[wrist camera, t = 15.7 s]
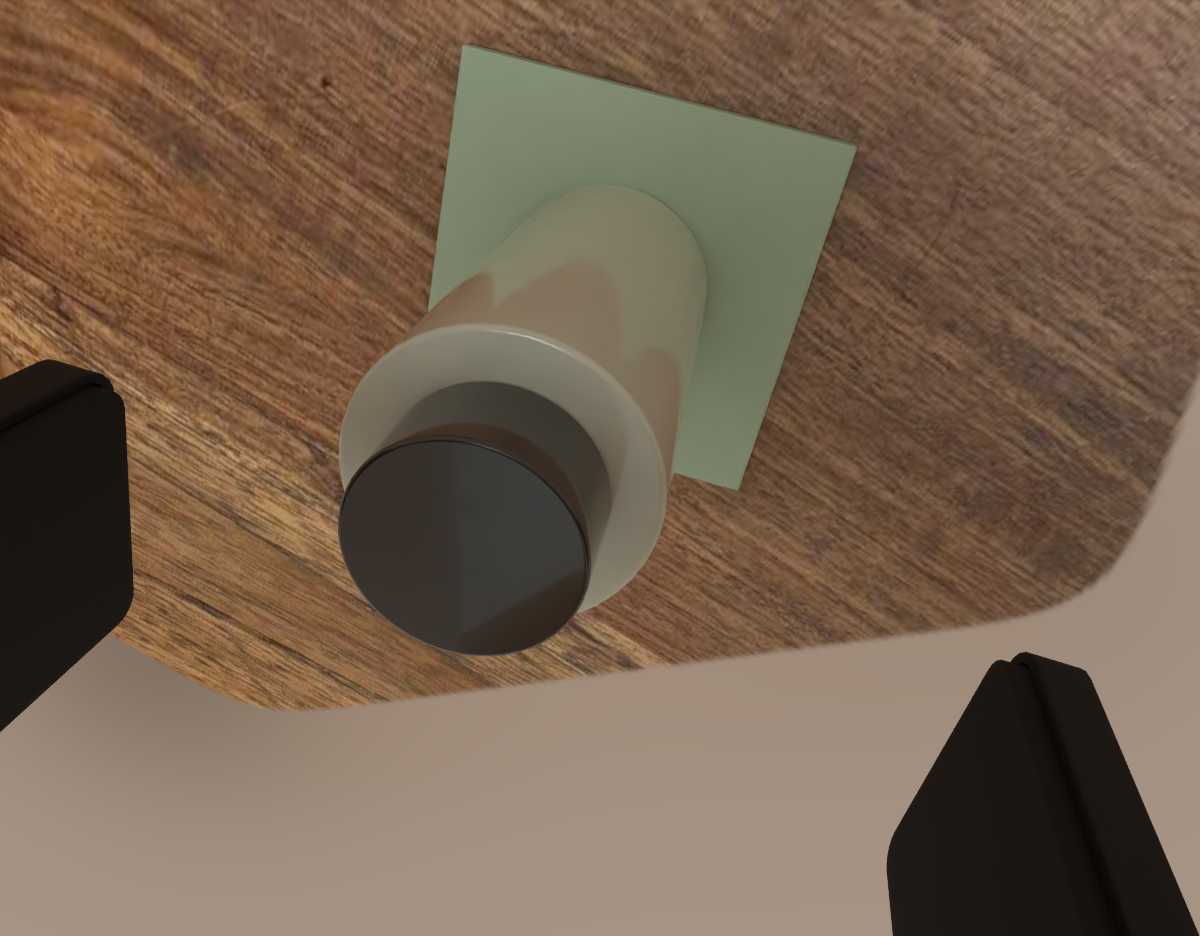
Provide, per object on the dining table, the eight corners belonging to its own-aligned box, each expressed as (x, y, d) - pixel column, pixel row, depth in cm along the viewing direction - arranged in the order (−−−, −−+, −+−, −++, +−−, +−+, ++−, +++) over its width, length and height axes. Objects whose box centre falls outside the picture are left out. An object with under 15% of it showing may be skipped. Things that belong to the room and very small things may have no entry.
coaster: (856, 143, 18) (858, 147, 17) (738, 483, 22) (738, 491, 21) (467, 43, 18) (461, 43, 18) (420, 395, 22) (414, 402, 22)
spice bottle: (733, 213, 18) (698, 440, 9) (678, 403, 21) (604, 742, 11) (526, 158, 19) (286, 326, 9) (493, 352, 21) (270, 646, 11)
